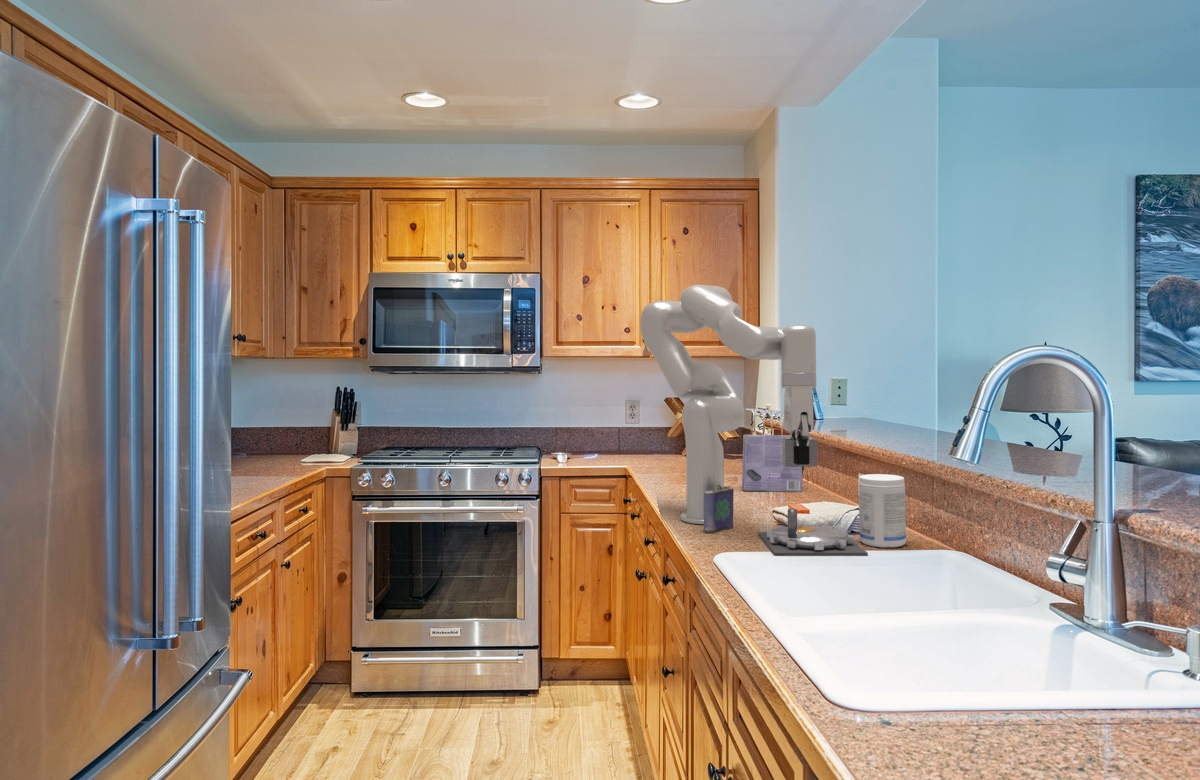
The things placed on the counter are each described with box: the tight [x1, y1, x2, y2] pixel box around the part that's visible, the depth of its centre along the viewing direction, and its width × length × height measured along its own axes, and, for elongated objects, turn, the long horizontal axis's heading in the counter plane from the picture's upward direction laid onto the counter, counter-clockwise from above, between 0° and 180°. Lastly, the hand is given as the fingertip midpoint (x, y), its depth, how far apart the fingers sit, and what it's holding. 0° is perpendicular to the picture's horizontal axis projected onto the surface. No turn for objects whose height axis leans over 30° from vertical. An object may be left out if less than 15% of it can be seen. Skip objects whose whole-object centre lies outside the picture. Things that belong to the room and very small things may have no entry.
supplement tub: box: [858, 473, 907, 549], centre depth 161 cm, size 10×10×15 cm
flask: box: [703, 481, 735, 534], centre depth 176 cm, size 10×3×12 cm, turn 133°
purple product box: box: [741, 434, 805, 493], centre depth 230 cm, size 19×5×18 cm, turn 84°
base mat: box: [757, 531, 869, 557], centre depth 161 cm, size 19×19×1 cm
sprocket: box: [766, 508, 855, 550], centre depth 160 cm, size 18×18×7 cm
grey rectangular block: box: [782, 436, 818, 468], centre depth 164 cm, size 4×7×6 cm, turn 86°
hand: (799, 462), depth 164 cm, fingers closed on grey rectangular block, 3 cm apart
